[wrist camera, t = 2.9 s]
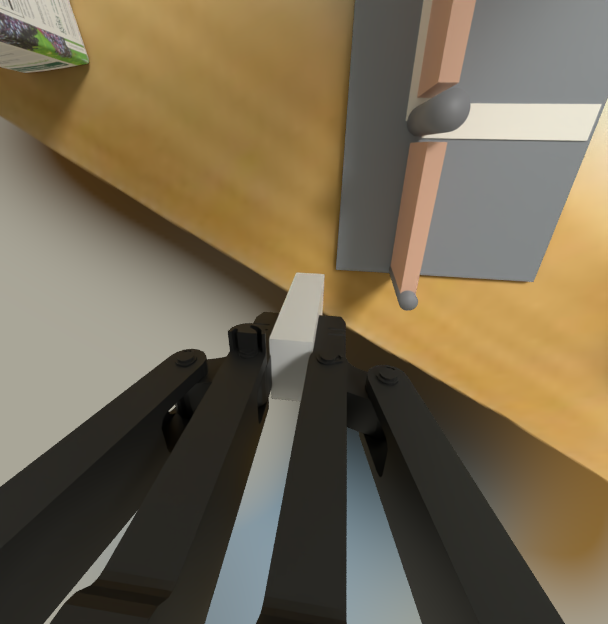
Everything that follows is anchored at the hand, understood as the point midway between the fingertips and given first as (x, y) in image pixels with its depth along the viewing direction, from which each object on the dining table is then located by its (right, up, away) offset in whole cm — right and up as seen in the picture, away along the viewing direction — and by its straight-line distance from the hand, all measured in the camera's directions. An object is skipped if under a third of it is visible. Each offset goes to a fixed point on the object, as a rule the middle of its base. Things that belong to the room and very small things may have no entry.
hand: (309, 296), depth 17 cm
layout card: (+11, +12, +4) cm, 17 cm away
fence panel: (+8, +7, +7) cm, 12 cm away
